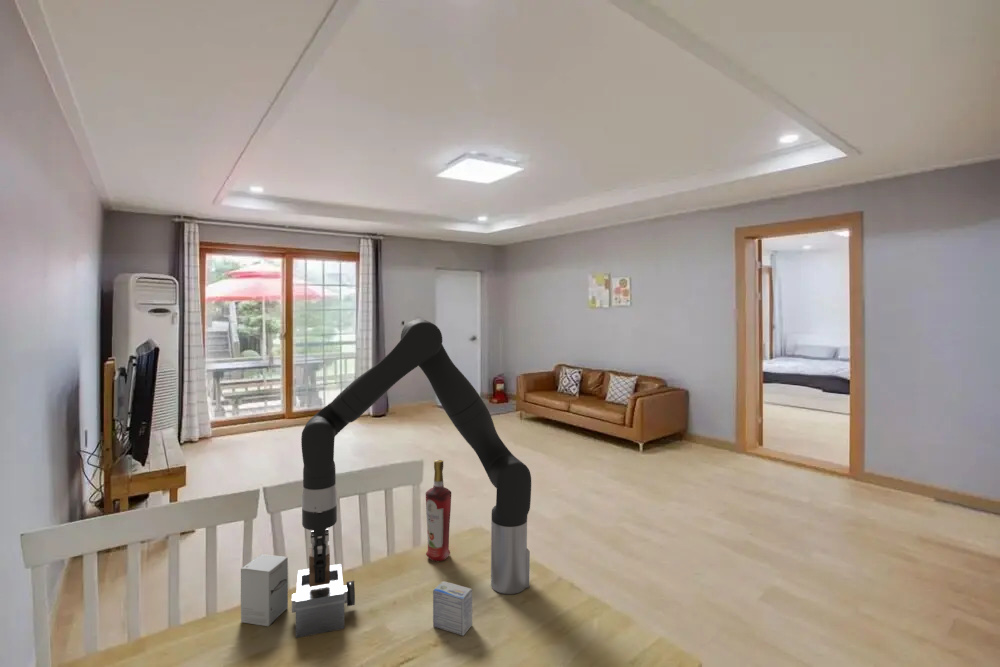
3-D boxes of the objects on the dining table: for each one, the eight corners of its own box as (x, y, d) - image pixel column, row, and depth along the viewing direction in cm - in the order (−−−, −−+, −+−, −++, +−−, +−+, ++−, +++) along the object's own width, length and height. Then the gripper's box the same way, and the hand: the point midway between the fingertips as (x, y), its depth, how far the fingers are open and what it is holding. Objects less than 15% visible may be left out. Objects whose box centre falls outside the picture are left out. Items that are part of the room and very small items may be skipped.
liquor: (419, 559, 145) (420, 462, 143) (436, 549, 151) (436, 456, 149) (440, 566, 141) (440, 466, 139) (456, 555, 147) (456, 460, 146)
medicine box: (472, 625, 115) (473, 588, 114) (463, 637, 111) (463, 598, 110) (442, 616, 118) (442, 580, 118) (432, 627, 114) (432, 589, 114)
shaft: (353, 597, 123) (353, 576, 123) (354, 609, 118) (354, 587, 118) (292, 608, 118) (292, 586, 118) (291, 621, 113) (291, 598, 113)
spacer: (329, 574, 120) (329, 545, 120) (329, 583, 116) (329, 553, 116) (309, 577, 119) (309, 548, 119) (309, 587, 115) (309, 556, 114)
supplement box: (269, 627, 113) (268, 571, 113) (239, 622, 115) (239, 568, 114) (289, 608, 121) (288, 556, 120) (261, 604, 122) (260, 552, 121)
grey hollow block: (341, 595, 126) (341, 563, 126) (344, 628, 113) (344, 593, 113) (298, 602, 123) (297, 570, 123) (295, 637, 110) (295, 601, 109)
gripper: (302, 495, 122) (303, 564, 123) (301, 518, 109) (301, 596, 110) (335, 491, 125) (335, 559, 126) (337, 513, 111) (338, 590, 112)
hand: (319, 576), depth 118 cm, fingers closed on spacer, 4 cm apart
